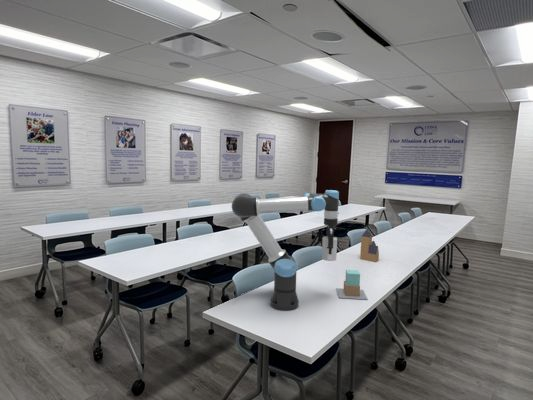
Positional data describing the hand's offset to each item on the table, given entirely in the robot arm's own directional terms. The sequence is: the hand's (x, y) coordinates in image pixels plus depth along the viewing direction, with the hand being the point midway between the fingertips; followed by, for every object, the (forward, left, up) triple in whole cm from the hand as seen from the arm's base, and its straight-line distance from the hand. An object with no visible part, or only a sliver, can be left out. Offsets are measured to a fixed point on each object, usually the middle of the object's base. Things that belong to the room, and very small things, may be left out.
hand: (328, 257), depth 193 cm
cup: (0, 0, -1) cm, 1 cm away
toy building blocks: (+42, +84, -23) cm, 96 cm away
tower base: (+14, +4, -23) cm, 27 cm away
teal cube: (+14, +4, -16) cm, 22 cm away
